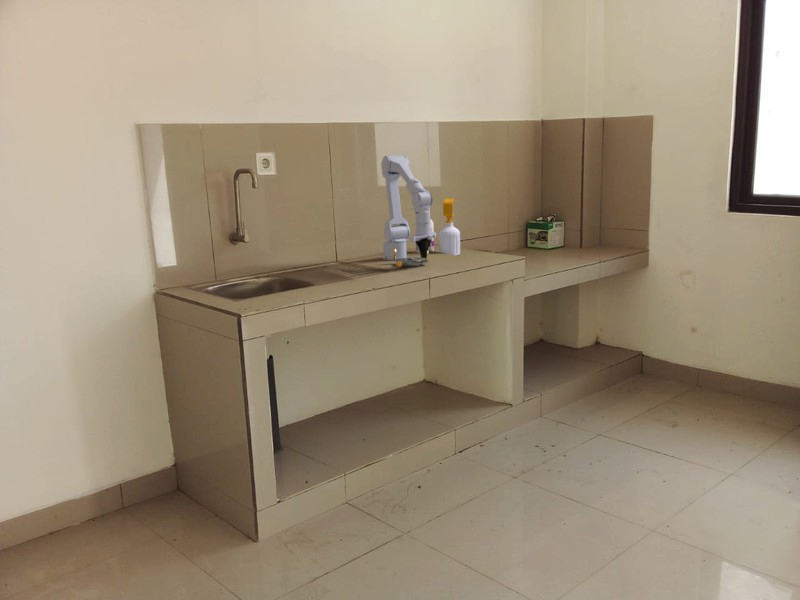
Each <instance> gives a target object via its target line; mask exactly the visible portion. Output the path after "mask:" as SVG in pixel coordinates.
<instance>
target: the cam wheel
mask: <svg viewBox="0 0 800 600" xmlns="http://www.w3.org/2000/svg"><path fill="white" fill-rule="evenodd" d="M391 261H392V262H396V263H395V264H396V267H397V268H417V267H422V266H424V265H425V264H427V263H429V262H430V261H429V251H428V252H427V258H421V257H415V256H414V257H413V256H409V257H407V258H400V259H396V249H392V260H391Z"/></svg>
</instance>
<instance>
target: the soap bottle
mask: <svg viewBox="0 0 800 600" xmlns="http://www.w3.org/2000/svg"><path fill="white" fill-rule="evenodd" d="M454 201H455V199H454V198H444V201H443V203H442V204H443V205H442V206H443V207H442V209H443V210H442V211H443V212H442V214H443V217H445V218H446V219H447V220H446V221H445V226H444V227H443V228H442V229H440V230H439V234H438V236H439V237H438V241H439V242H438V243H439V248H438V250H439V253H440V254H445V255H446V254H447V255H451V256H456V257H457V256H459V255H461V232H460V230H459V229H458V228H457V227H455V226H454V221H453V220H452V219H453V217H454V216H455V213H454V212H453V210H454V208H453V205H454V204H453V203H454Z"/></svg>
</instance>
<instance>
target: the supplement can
mask: <svg viewBox="0 0 800 600" xmlns="http://www.w3.org/2000/svg"><path fill="white" fill-rule="evenodd" d="M414 225H415V227H414V229H415V231H416V222H415V223H414ZM434 227H435V226H434V221H433V219H432V218H430V230H431V232H435V231H434ZM429 239H431V240H432V242H431V244H430V246H429V249H428V252H434V251H435V239H434V237H433V238H429ZM415 251H416V253H420V251H419V248H418V246H417V244H416V243H415Z"/></svg>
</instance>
